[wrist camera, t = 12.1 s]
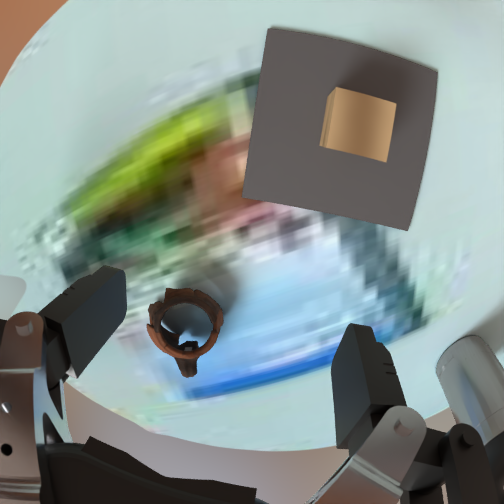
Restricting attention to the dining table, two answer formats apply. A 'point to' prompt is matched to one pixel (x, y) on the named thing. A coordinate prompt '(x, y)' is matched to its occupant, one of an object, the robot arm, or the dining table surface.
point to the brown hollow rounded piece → (169, 341)
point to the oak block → (358, 124)
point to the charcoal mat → (311, 123)
